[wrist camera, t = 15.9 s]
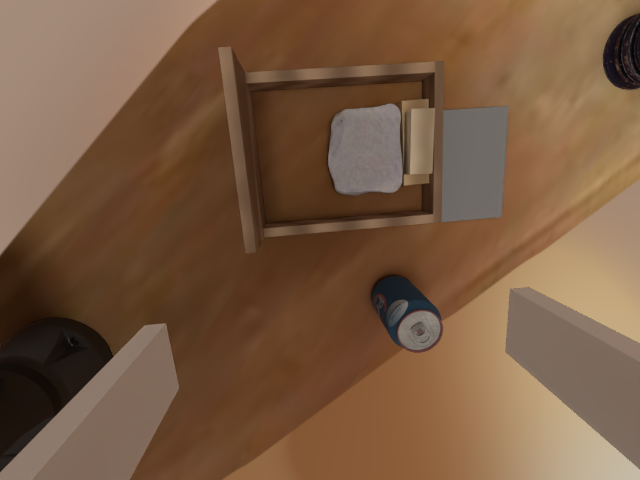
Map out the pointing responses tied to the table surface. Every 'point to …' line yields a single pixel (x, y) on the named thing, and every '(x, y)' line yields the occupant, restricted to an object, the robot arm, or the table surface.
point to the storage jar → (624, 54)
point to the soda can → (407, 314)
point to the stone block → (366, 150)
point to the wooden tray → (243, 83)
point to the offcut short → (419, 141)
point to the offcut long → (403, 107)
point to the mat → (473, 163)
